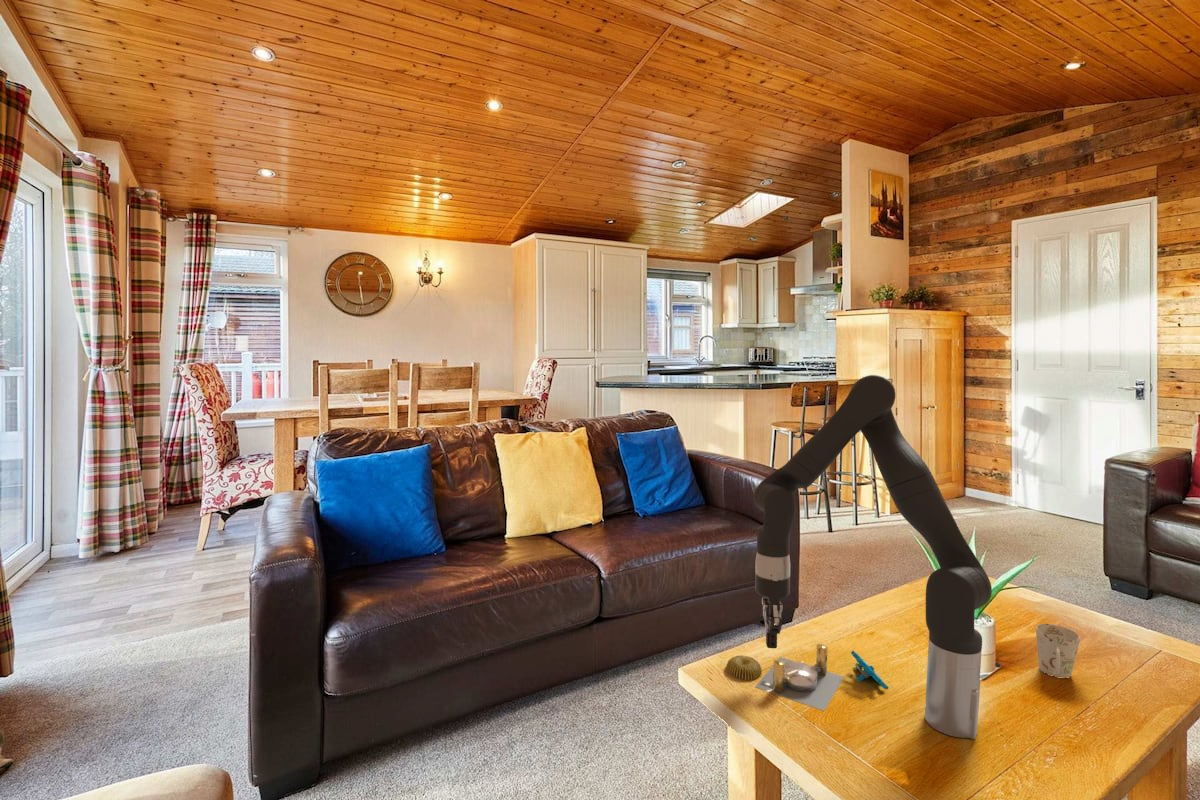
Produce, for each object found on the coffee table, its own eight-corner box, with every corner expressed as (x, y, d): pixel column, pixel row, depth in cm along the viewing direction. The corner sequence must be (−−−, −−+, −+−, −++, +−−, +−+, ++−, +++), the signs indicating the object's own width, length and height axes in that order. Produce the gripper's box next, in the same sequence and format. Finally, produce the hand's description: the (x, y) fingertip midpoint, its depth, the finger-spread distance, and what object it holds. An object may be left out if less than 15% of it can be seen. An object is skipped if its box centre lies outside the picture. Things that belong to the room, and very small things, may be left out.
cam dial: (810, 662, 144) (811, 638, 143) (839, 678, 137) (840, 652, 136) (761, 681, 135) (761, 656, 135) (788, 699, 128) (789, 673, 128)
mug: (1074, 669, 144) (1077, 629, 143) (1082, 695, 134) (1085, 651, 133) (1032, 659, 149) (1034, 620, 148) (1036, 683, 138) (1038, 641, 137)
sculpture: (768, 661, 140) (748, 674, 135) (768, 678, 140) (748, 691, 135) (740, 648, 146) (719, 660, 141) (739, 664, 146) (719, 676, 141)
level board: (845, 680, 139) (845, 673, 139) (823, 718, 125) (823, 711, 125) (781, 660, 148) (781, 654, 148) (754, 694, 134) (754, 687, 134)
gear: (897, 693, 131) (863, 658, 132) (877, 711, 132) (843, 676, 133) (880, 673, 142) (848, 641, 143) (861, 690, 142) (830, 657, 144)
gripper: (751, 561, 142) (750, 632, 143) (759, 582, 129) (758, 660, 130) (784, 562, 141) (782, 634, 142) (796, 584, 128) (794, 662, 129)
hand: (771, 646), depth 136 cm, fingers closed
